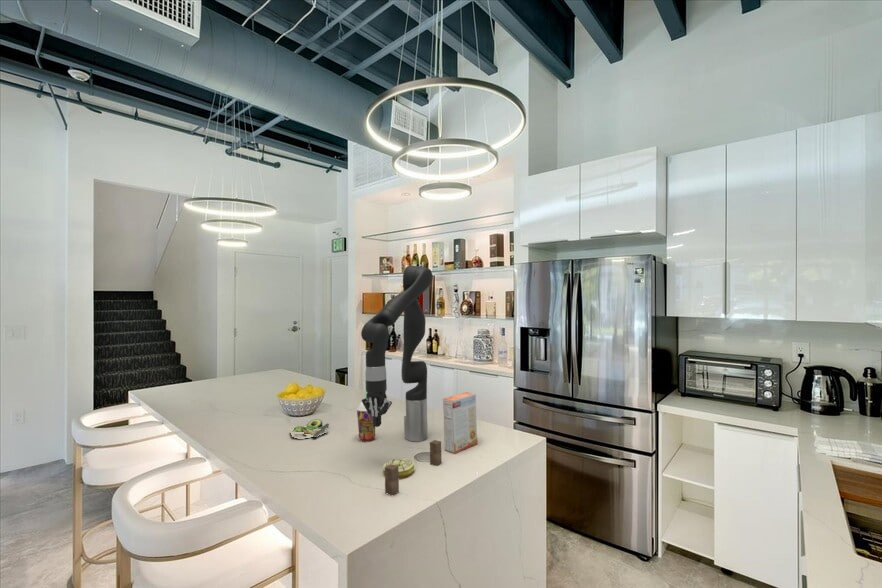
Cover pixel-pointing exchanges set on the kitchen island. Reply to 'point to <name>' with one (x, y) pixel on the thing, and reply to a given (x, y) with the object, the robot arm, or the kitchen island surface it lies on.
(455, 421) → the cracker box
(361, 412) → the smoothie
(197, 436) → the kitchen island surface
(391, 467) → the posts
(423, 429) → the robot arm
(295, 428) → the salad plate
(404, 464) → the decorated donut
